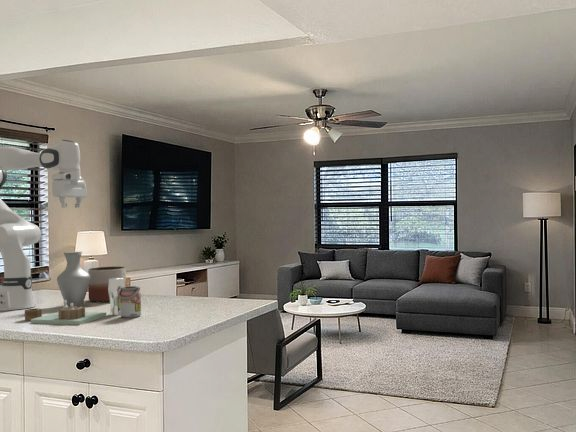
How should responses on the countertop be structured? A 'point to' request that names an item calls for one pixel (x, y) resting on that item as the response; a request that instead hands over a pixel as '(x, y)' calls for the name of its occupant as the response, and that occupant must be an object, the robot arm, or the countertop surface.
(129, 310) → the beverage can
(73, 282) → the vase
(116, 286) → the beer glass
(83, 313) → the board
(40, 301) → the countertop surface
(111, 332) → the countertop surface
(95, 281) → the planter
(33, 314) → the gear
